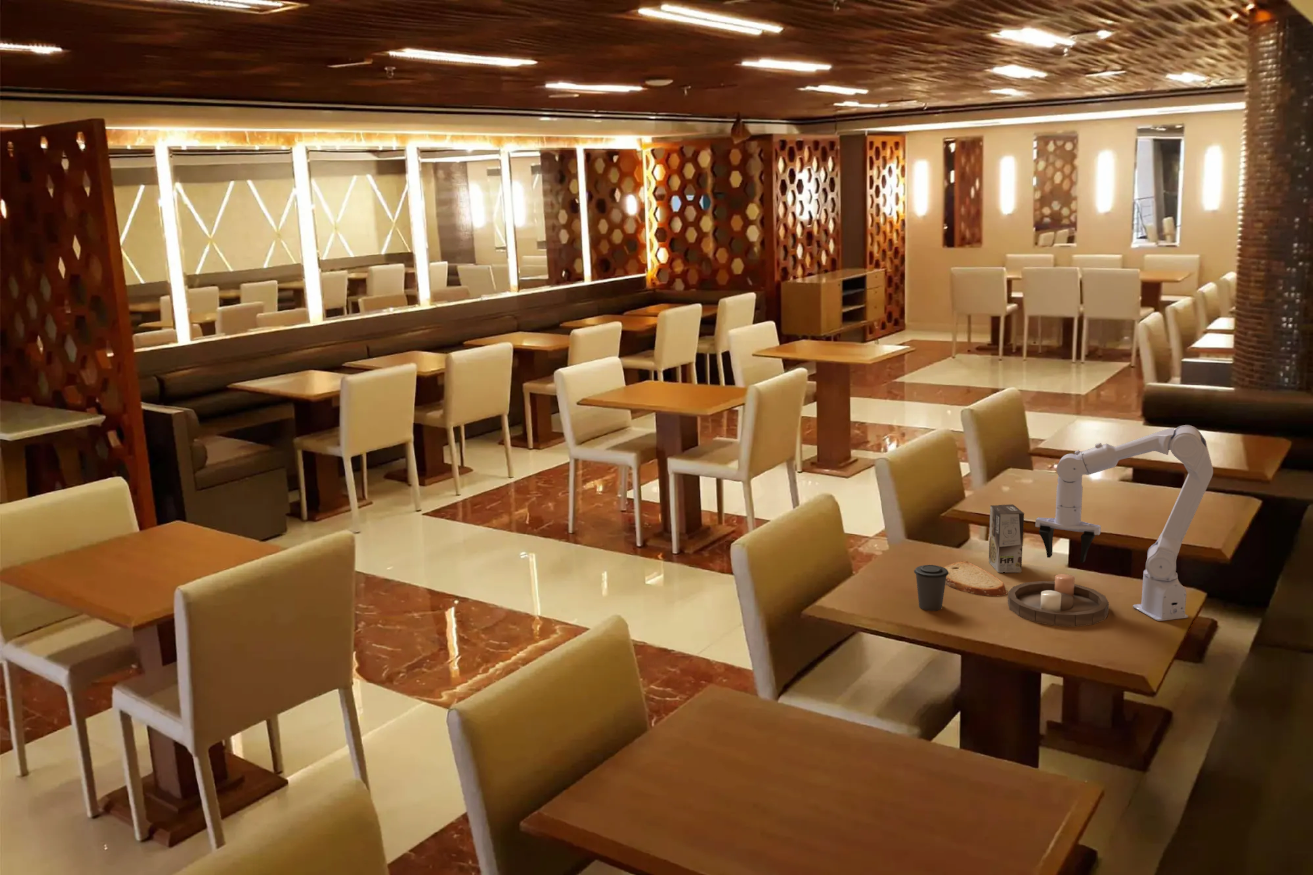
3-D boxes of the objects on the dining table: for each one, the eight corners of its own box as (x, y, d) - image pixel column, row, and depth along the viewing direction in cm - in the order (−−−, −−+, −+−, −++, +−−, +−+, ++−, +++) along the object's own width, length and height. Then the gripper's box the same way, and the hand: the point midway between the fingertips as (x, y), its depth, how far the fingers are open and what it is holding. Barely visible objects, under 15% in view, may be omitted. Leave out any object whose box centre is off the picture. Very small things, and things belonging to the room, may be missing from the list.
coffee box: (1022, 572, 278) (1025, 513, 274) (997, 573, 278) (999, 513, 274) (1011, 561, 287) (1014, 503, 283) (987, 561, 287) (989, 504, 283)
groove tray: (1127, 620, 244) (1127, 609, 244) (1039, 630, 240) (1040, 618, 240) (1072, 588, 265) (1073, 577, 265) (991, 596, 261) (991, 586, 261)
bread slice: (1006, 598, 261) (1007, 584, 260) (931, 592, 267) (931, 578, 266) (1008, 574, 278) (1008, 561, 277) (937, 569, 283) (937, 555, 283)
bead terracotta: (1077, 598, 256) (1078, 579, 255) (1060, 600, 255) (1061, 581, 254) (1067, 592, 260) (1068, 573, 259) (1050, 594, 260) (1051, 574, 258)
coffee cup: (948, 613, 252) (950, 573, 250) (913, 612, 253) (914, 572, 251) (946, 601, 259) (947, 562, 257) (912, 600, 261) (913, 561, 259)
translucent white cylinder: (1048, 618, 245) (1049, 598, 244) (1036, 612, 249) (1037, 591, 248) (1064, 615, 246) (1065, 595, 245) (1051, 609, 250) (1052, 589, 249)
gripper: (1104, 504, 252) (1101, 558, 255) (1041, 496, 260) (1039, 549, 263) (1098, 511, 246) (1094, 567, 249) (1034, 503, 254) (1031, 557, 257)
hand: (1065, 558), depth 256 cm, fingers open, 7 cm apart
